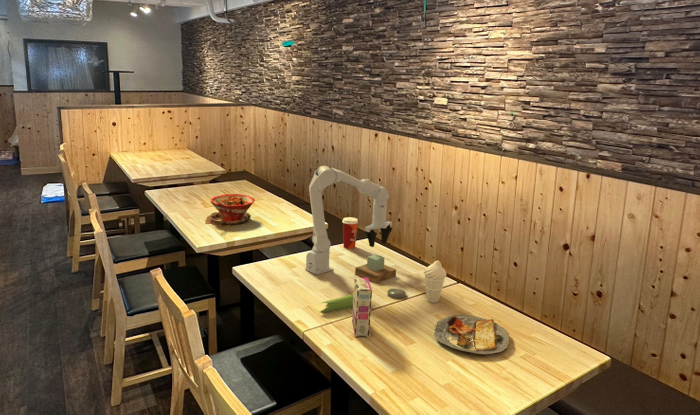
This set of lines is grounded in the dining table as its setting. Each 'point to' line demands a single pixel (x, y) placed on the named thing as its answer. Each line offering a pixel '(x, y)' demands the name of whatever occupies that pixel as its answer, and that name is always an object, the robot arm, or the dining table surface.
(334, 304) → the edible corn
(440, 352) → the dining table surface
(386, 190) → the robot arm
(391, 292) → the grey flat round pebble
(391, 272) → the base block
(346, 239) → the paper cup
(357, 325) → the candy bar box
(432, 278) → the soft serve ice cream cone
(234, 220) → the stew
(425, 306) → the dining table surface
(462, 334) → the food plate
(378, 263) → the cube
